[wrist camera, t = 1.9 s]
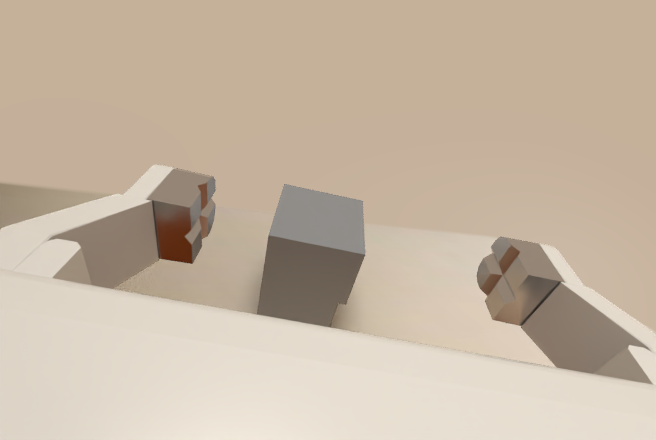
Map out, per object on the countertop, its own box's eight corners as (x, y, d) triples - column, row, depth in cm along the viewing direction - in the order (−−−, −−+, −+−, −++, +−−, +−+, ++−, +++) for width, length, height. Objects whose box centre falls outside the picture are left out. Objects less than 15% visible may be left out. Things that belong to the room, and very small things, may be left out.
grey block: (255, 327, 28) (268, 235, 22) (270, 271, 33) (284, 184, 27) (331, 340, 28) (365, 254, 22) (334, 283, 34) (362, 200, 28)
